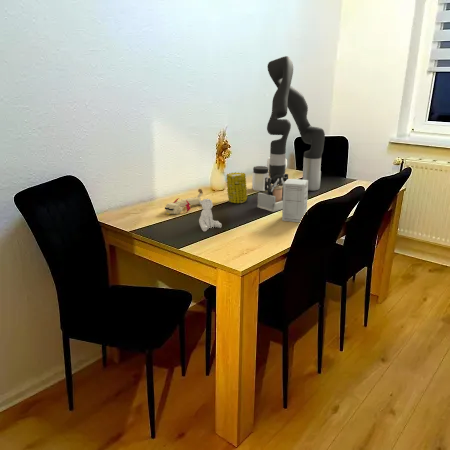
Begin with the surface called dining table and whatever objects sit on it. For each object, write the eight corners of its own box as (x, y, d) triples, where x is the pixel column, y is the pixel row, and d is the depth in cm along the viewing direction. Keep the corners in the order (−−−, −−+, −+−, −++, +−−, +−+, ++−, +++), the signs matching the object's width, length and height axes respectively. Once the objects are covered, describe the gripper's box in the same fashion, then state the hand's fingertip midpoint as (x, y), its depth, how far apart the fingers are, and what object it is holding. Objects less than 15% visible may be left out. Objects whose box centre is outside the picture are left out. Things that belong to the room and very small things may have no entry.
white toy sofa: (280, 200, 226) (281, 186, 224) (296, 204, 219) (297, 190, 217) (257, 207, 215) (257, 192, 213) (273, 211, 208) (273, 197, 206)
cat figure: (194, 204, 224) (158, 212, 205) (194, 187, 222) (158, 193, 202) (209, 207, 219) (174, 216, 199) (210, 190, 216) (175, 197, 197)
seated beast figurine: (203, 232, 182) (203, 203, 178) (192, 226, 189) (191, 198, 185) (222, 227, 188) (222, 199, 184) (210, 222, 194) (210, 195, 190)
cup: (266, 175, 280) (266, 159, 277) (267, 170, 291) (268, 155, 288) (286, 175, 278) (286, 160, 275) (286, 171, 290) (287, 156, 286)
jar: (260, 192, 241) (261, 169, 237) (249, 189, 247) (249, 167, 243) (271, 189, 247) (272, 167, 243) (260, 186, 253) (260, 165, 249)
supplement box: (307, 216, 201) (309, 179, 196) (303, 223, 193) (305, 184, 187) (285, 214, 204) (287, 178, 199) (281, 220, 196) (283, 182, 190)
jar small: (275, 201, 220) (275, 183, 217) (284, 204, 216) (285, 185, 213) (267, 204, 216) (267, 185, 213) (276, 206, 212) (277, 188, 209)
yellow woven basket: (239, 208, 219) (224, 205, 226) (254, 198, 226) (239, 195, 233) (233, 179, 212) (218, 176, 219) (249, 169, 219) (234, 167, 226)
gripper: (281, 160, 217) (279, 193, 222) (261, 164, 208) (260, 198, 213) (293, 162, 212) (291, 196, 217) (273, 166, 202) (272, 201, 208)
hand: (276, 197), depth 215 cm, fingers open, 8 cm apart
